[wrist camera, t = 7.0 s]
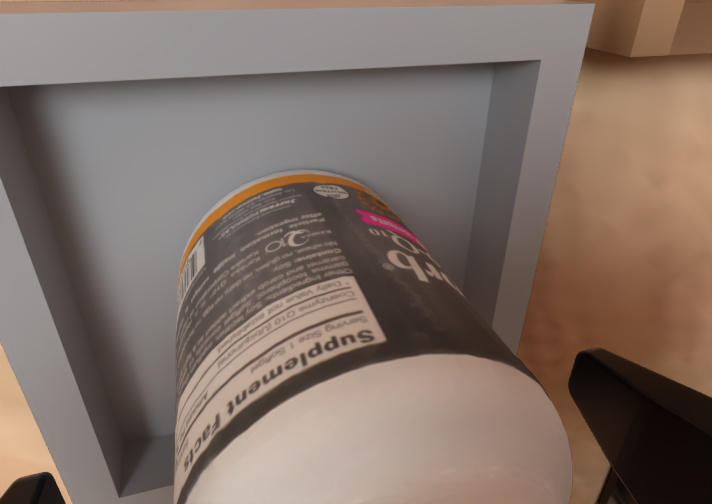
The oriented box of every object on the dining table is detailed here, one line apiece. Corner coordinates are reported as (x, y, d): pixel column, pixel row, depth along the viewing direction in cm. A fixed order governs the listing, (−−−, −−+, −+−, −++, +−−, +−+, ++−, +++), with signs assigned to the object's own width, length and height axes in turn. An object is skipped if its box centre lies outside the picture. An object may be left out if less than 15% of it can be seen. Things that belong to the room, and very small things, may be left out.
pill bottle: (434, 267, 14) (784, 692, 6) (276, 387, 15) (402, 934, 6) (316, 108, 11) (715, 549, 3) (118, 267, 11) (-29, 1046, 3)
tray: (466, 375, 18) (500, 425, 16) (97, 458, 15) (85, 532, 13) (528, -5, 12) (595, 3, 10) (-76, 3, 9) (-147, 16, 7)
